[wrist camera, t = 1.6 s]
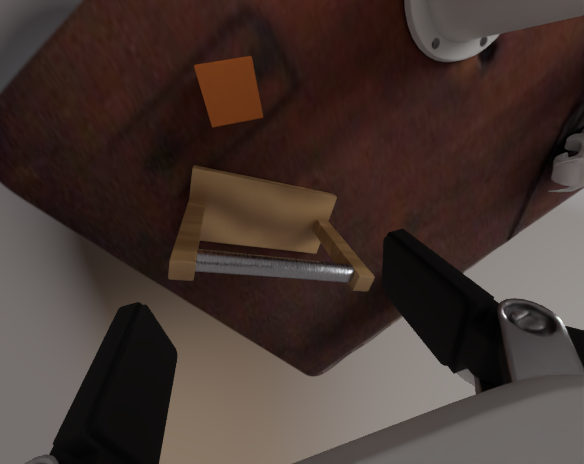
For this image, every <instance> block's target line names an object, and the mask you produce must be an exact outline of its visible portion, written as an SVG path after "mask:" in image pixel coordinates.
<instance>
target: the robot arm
mask: <svg viewBox="0 0 584 464" xmlns="http://www.w3.org/2000/svg"><path fill="white" fill-rule="evenodd" d="M404 3H405V14H406V19H407V24H408V27H409V30H410V33H411V35H412V38H413V40H414V41H415V43H416V45H417V46H418V48H419V49H420V50H421V51H422V52H423V53H424V54H425V55H426V56H428V57H430V58H432V59H434V60H436V61H441V62H455V61H460V60H465V59H467V58H470V57H472V56H474V55H476V54H478V53H479V52H481V51H482V50H484V49H485V48H486V47H488V46H489V45H490V44H491V43H492V42H493V41H494V40H495V39H496V38H497V37H498V36H499V34H501V33H506V32H510V31H515V30H520V29H524V28H529V27H533V26H538V25H542V24H547V23H551V22H556V21H560V20H565V19H570V18H574V17H579V16H583V15H584V0H404ZM382 289H383V291H384V293H385V295H386V296H387V297H388V298H389V300H390V301H391V302H392V303H393V305H394V306H395V307H396V308H397V310H398V311H399V312H400V313H401V315H402V316H403V317H404V318H405V320H406V321H407V322H408V323H409V324H410V326H411V327H412V328H413V330H414V331H415V332H416V333H417V335H418V336H419V337H420V338H421V339H422V341H423V342H424V343H425V344H426V346H427V347H428V348H429V349H430V351H431V352H432V353H433V354H434V356H435V357H436V358H437V359H438V361H439V362H440V363H441V364H443V365H445V366H448V367H449V368H450V369H451V371H452V372H453V373H457V372H460V371H462V370H465V369H468V370H469V371H470V372H471V374H472V375H473V376H474V381H475V391H476V395H473V396H470V397H468V398H465V399H462V400H459V401H456V402H453V403H451V404H448V405H446V406H443V407H440V408H438V409H435V410H432V411H430V412H427V413H424V414H422V415H419V416H416V417H414V418H411V419H409V420H406V421H403V422H400V423H398V424H395V425H393V426H390V427H387V428H385V429H382V430H379V431H377V432H374V433H372V434H369V435H367V436H364V437H361V438H358V439H356V440H353V441H351V442H348V443H345V444H343V445H340V446H337V447H335V448H332V449H330V450H327V451H324V452H322V453H320V454H317V455H314V456H311V457H309V458H307V459H304V460H301V461H298V462H296V463H293V464H584V330H579V329H576V328H572V327H568V326H564V324H563V322H562V321H561V320H560V318H559V317H558V316H557V315H556V314H554V313H553V312H552V311H550V310H549V309H547V308H545V307H544V306H542V305H539V304H537V303H534V302H532V301H528V300H524V299H506V300H504V301H502V302H500V304H499V303H498V302H496V301H495V300H494V297H493V296H492V295H490V294H489V293H488V292H486V291H485V290H484V289H482V288H481V287H480V286H479V285H477V284H476V283H474V282H473V281H472V280H471V279H469V278H468V277H466V276H465V275H464V274H463V273H461V272H460V271H459V270H457V269H456V268H455V267H453V266H452V265H451V264H449V263H448V262H447V261H445V260H444V259H443V258H441V257H440V256H439V255H437V254H436V253H435V252H433V251H432V250H431V249H429V248H428V247H427V246H425V245H424V244H423V243H421V242H420V241H419V240H417V239H416V238H415V237H413V236H412V235H411V234H410V233H408V232H407V231H406V230H404V229H399V230H396V231H392V232H389V233H388V234H387V237H385V238H384V244H383V268H382ZM176 363H177V351H176V348H175V347H174V345H173V344H172V342H171V341H170V339H169V338H168V336H167V335H166V333H165V332H164V330H163V329H162V327H161V326H160V324H159V323H158V321H157V320H156V318H155V317H154V315H153V313H152V312H151V310H150V309H149V307H148V306H147V305H142V304H141V303H139V302H137V303H133V304H129V305H126V306H122V307H120V308H119V309H118V311H117V313H116V315H115V317H114V319H113V321H112V323H111V325H110V327H109V329H108V331H107V333H106V336H105V337H104V339H103V341H102V344H101V346H100V348H99V350H98V352H97V354H96V356H95V358H94V360H93V362H92V364H91V366H90V368H89V370H88V372H87V375H86V376H85V378H84V380H83V382H82V385H81V387H80V389H79V391H78V393H77V395H76V397H75V399H74V401H73V403H72V405H71V407H70V409H69V411H68V413H67V415H66V417H65V420H64V421H63V424H62V425H61V427H60V429H59V432H58V434H57V436H56V438H55V440H54V442H53V445H54V446H53V448H52V450H51V452H50V454H49V455H43V456H39V457H36V458H34V459H32V460H30V461H28V462H26V463H25V464H159V459H160V454H161V448H162V443H163V437H164V431H165V425H166V420H167V414H168V408H169V402H170V396H171V391H172V385H173V380H174V374H175V368H176Z"/></svg>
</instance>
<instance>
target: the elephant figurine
mask: <svg viewBox="0 0 584 464" xmlns="http://www.w3.org/2000/svg"><path fill="white" fill-rule="evenodd" d="M565 149H566V150H571V151H577V152H578V154H577V155H575V156H572V157H568V153H567V152H566V153H563V154H560V155H558V156H557V157H555V159H554V161H553V172H552V176H551V180H552V181H554V182H556V183H558V184H561V185H566V186H569V187H568V188H565V189H561V190H553V191H548V192H571V191H574V190H576V189H579V188H580V187H583V188H584V129H583V130H582V132H581V133H579V134H573V135H571V136H569V137H568V138H567V140H566V144H565Z"/></svg>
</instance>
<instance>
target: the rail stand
mask: <svg viewBox="0 0 584 464" xmlns="http://www.w3.org/2000/svg"><path fill="white" fill-rule="evenodd" d="M336 199H337V197H336V196H335V195H334V194H332V193H327V192H322V191H317V190H312V189H308V188H303V187H298V186H293V185H288V184H284V183H279V182H274V181H269V180H264V179H259V178H255V177H250V176H245V175H240V174H235V173H230V172H226V171H221V170H216V169H211V168H206V167H202V166H197V165H194V166H193V168H192V176H191V186H190V195H189V201H188V204H187V207H186V210H185V213H184V217H183V220H182V223H181V226H180V229H179V232H178V235H177V239H176V242H175V245H174V248H173V251H172V254H171V257H170V261H169V274H168V279H172V280H188V281H193V280H194V275H195V271H197V272H211V273H225V274H239V275H253V276H266V277H280V278H294V279H308V280H322V281H336V282H347V283H348V284H349V286H350V287H351V289H352V290H353V291H368V290H369V288H370V286H371V284H372V282H373V280H374V278H375V277H374V275H373V274H372V273H371V272H370V271H369V269H368V268H367V267H366V266H365V265H364V263H363V262H362V261H361V260H360V259H359V257H358V256H357V255H356V254H355V253H354V251H353V250H352V249H351V248H350V247H349V246H348V244H347V243H346V242H345V241H344V240H343V238H342V237H341V236H340V235H339V234H338V232H337V231H336V230H335V229H334V228H333V226H332V225H331V224H330V223H329V222H328V220H329V218H330V215H331V212H332V210H333V207H334V204H335V201H336ZM200 241H208V242H217V243H226V244H235V245H244V246H253V247H262V248H271V249H280V250H288V251H297V252H306V253H315V254H316V253H317V250H318V248H319V245H320V242H321V244H322V245H323V247H324V248H325V250H326V251H327V253H328V254H329V256H330V257H331V259H332V260H333V262H334V263H331V262H321V261H312V260H302V259H292V258H282V257H272V256H262V255H252V254H242V253H232V252H223V251H213V250H203V249H199V243H200Z"/></svg>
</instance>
